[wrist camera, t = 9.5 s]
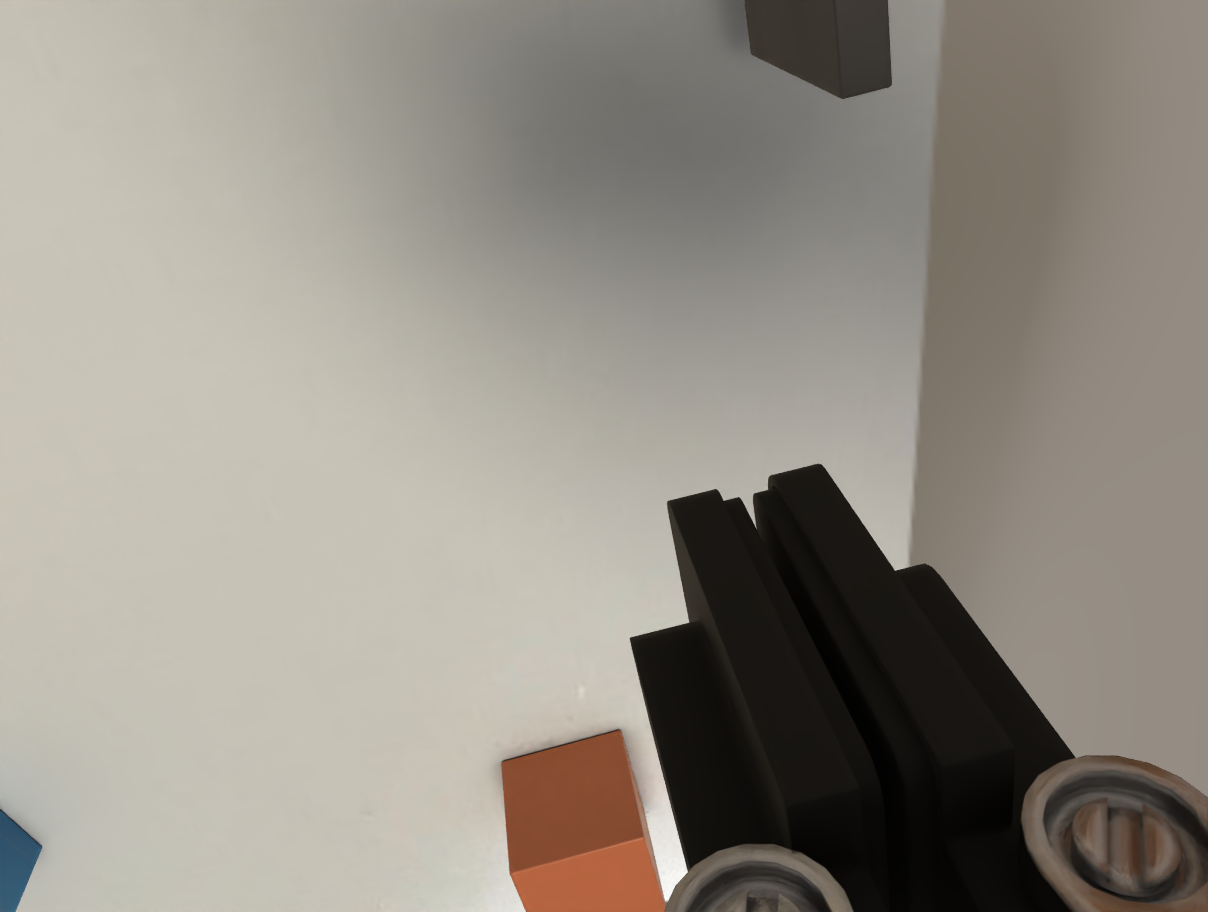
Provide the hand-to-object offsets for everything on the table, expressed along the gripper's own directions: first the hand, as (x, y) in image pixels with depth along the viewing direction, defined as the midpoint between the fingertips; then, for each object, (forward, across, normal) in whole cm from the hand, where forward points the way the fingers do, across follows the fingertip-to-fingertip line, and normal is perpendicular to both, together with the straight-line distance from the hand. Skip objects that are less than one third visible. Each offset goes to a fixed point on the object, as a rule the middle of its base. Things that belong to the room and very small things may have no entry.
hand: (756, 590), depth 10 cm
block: (+18, +5, +24) cm, 30 cm away
